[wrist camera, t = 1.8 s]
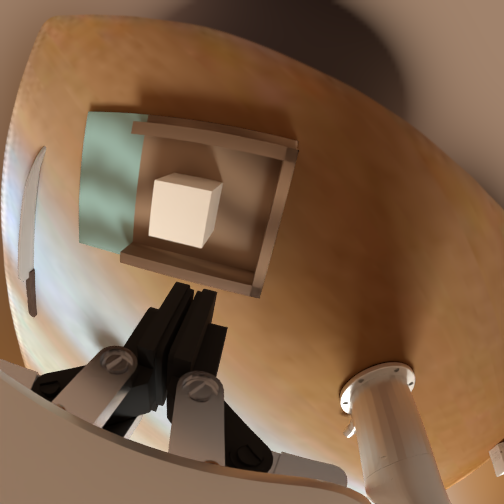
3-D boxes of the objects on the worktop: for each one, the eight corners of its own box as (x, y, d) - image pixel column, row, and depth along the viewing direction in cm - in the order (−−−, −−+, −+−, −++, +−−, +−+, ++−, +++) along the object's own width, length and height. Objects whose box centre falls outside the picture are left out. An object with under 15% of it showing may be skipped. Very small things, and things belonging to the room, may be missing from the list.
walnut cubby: (259, 285, 31) (257, 305, 28) (83, 239, 31) (65, 251, 28) (297, 141, 25) (301, 140, 22) (93, 111, 25) (72, 110, 21)
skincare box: (506, 439, 52) (516, 464, 39) (497, 448, 55) (506, 472, 41) (496, 444, 52) (507, 470, 39) (487, 452, 55) (496, 478, 41)
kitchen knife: (27, 324, 35) (27, 148, 23) (23, 321, 35) (22, 146, 23) (40, 311, 39) (49, 144, 27) (36, 308, 39) (44, 142, 27)
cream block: (213, 230, 28) (201, 248, 24) (167, 219, 28) (148, 235, 24) (223, 182, 26) (211, 191, 22) (174, 172, 26) (154, 179, 22)
